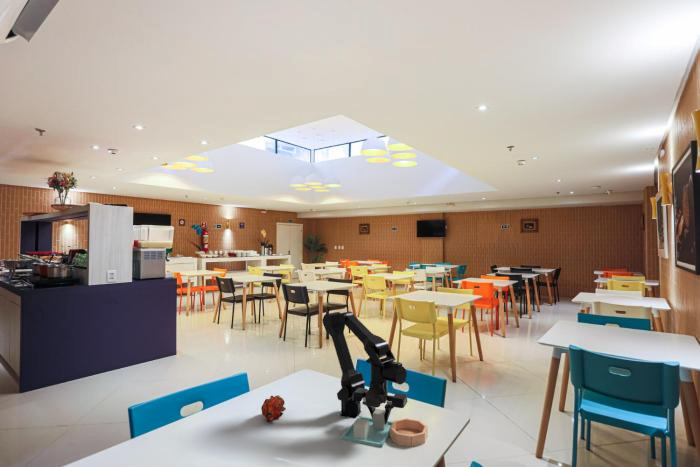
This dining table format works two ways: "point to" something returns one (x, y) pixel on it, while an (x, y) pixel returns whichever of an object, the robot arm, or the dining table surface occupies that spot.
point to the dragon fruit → (273, 408)
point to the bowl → (409, 432)
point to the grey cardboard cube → (361, 429)
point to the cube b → (379, 419)
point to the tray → (370, 434)
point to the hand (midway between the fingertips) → (380, 422)
